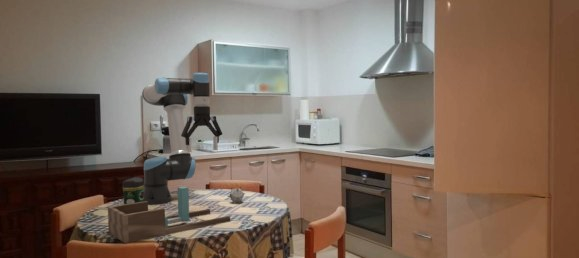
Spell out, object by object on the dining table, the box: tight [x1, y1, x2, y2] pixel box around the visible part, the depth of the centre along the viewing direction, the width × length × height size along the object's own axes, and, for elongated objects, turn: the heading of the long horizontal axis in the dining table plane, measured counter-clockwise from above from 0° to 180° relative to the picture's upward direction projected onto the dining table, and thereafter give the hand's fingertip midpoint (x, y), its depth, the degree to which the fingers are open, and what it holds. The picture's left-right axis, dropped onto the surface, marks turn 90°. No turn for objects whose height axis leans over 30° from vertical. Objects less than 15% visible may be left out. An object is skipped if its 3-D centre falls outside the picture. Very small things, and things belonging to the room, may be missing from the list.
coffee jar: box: [122, 176, 145, 205], centre depth 183 cm, size 10×8×19 cm
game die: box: [227, 186, 246, 204], centre depth 215 cm, size 9×8×10 cm
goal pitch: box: [107, 201, 231, 244], centre depth 171 cm, size 19×44×10 cm, turn 130°
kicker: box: [165, 186, 190, 228], centre depth 171 cm, size 14×14×15 cm
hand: (202, 151), depth 195 cm, fingers open, 13 cm apart
